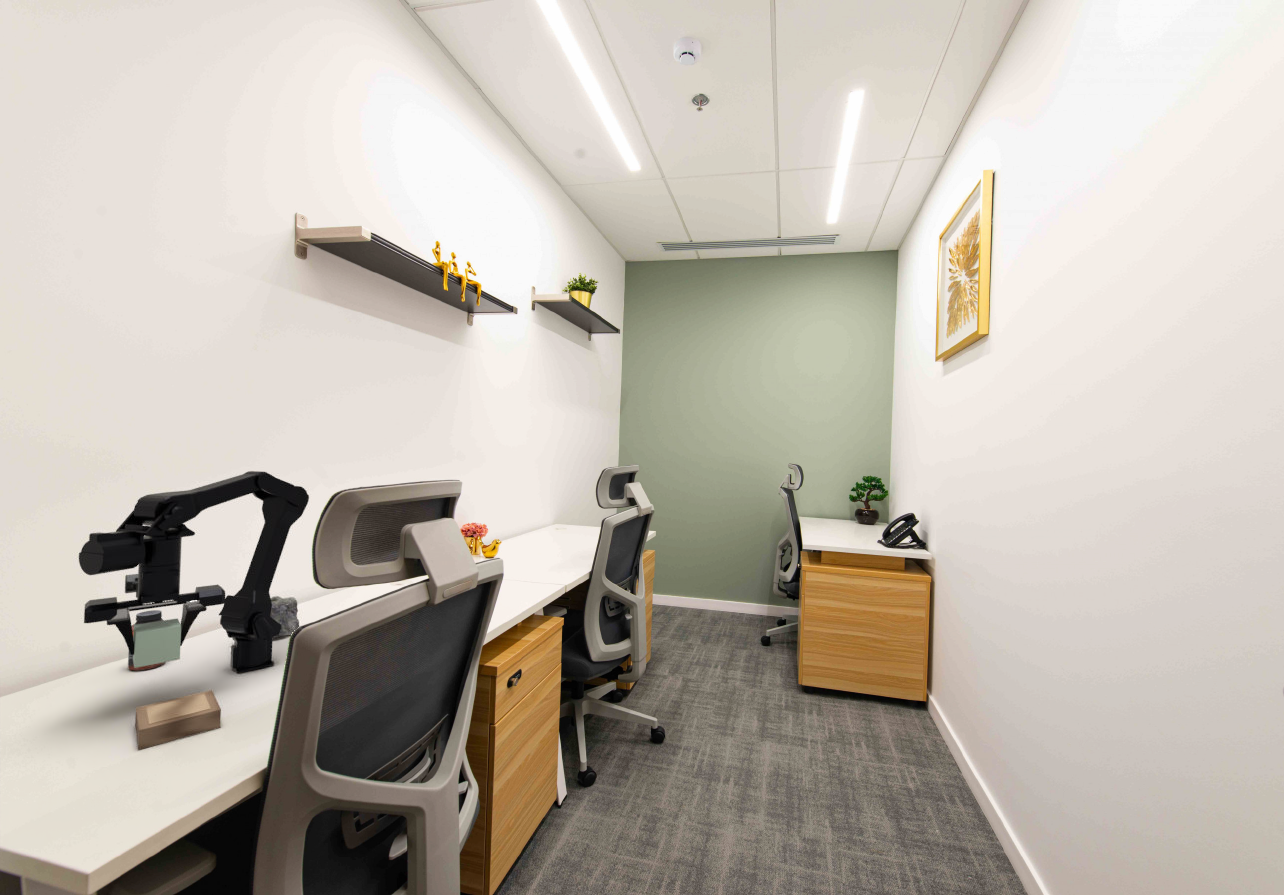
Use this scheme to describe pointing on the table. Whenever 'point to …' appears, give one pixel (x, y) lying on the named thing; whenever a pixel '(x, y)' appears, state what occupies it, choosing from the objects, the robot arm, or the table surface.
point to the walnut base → (176, 718)
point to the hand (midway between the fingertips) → (156, 649)
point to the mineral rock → (284, 614)
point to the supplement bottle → (141, 619)
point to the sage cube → (156, 642)
